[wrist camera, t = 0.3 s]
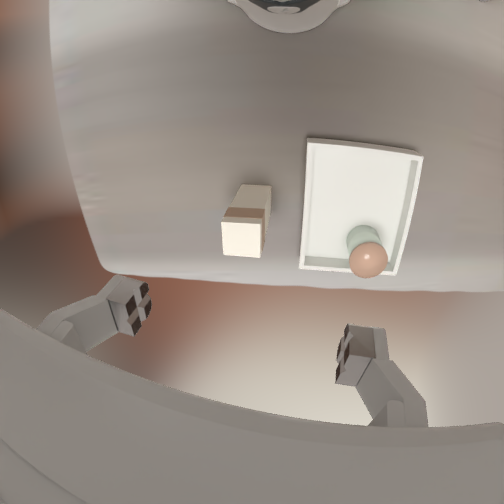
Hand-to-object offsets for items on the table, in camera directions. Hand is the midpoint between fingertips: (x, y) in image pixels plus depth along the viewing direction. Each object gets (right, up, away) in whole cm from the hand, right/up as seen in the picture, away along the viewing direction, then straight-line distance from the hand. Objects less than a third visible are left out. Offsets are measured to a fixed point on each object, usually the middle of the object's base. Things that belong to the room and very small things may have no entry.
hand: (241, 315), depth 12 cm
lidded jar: (+20, +5, +39) cm, 44 cm away
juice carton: (+1, +12, +39) cm, 41 cm away
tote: (+18, +10, +37) cm, 42 cm away
